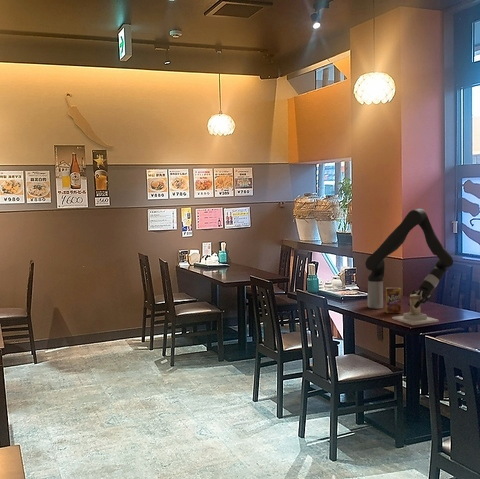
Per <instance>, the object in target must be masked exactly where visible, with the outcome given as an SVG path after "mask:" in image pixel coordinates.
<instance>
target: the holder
mask: <svg viewBox="0 0 480 479" xmlns="http://www.w3.org/2000/svg"><path fill="white" fill-rule="evenodd" d="M391 319H392V320H394V321H398V322H400V323H405V324H407V325H411V326H418V325H425V324H432V323H439V319H437V318H433V317H430V316H428V315H427V314H426V313H422V312H421V315H417V316H413V315H410V312H404V313H403V315H398V316H397V315H396V316H392V317H391Z"/></svg>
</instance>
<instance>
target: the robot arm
mask: <svg viewBox="0 0 480 479" xmlns="http://www.w3.org/2000/svg"><path fill="white" fill-rule="evenodd" d="M403 218H404V219H403V220H402V221H401V222H400V224H399V225H398V226H396V228H395V229H394V230H392V232H391V233H390V234H389V235H388V236H387V237H386V239H385V240H383V242H382V243H381V244H380V245H379V246H378V248H377V249H376V250H375V251H374V252H373V253H372V254H370V255H369V256H368V257H367V258H366V260H365V264H364V265H365V267H366V269H367V270H368V271H371V273H370V274H369V275H368V277H367V295H366V296H367V307H368V308H369V309H383V308H384V285H383V284H384V278H385V267H386V266H385V265H386V264H385V259H386V258H387V257H388V256H390V255H391V254H393V253H394V252H396V251H398V249H399V248H400V247H401V246H402V245H403V244H404V242H405V241H406V240H407V237H408V234H409V233H410V232H411V231H412V230H413V229H414V228H415V227H416V226H419V227H420V228H421V231H422V233H423V235H424V238H425V242H426V245H427V247H428V249H429V250H430V252H431V253H432V254H433V256H436V257H437V258H438V260H437V262H436V264H435V265H434V267H433V268H432V269H431V271H430V272H429V273H428V275H426V277H425V278H424V279H423V281H422V282H421V283H420V284H419V285H418V286H419V288H418V289H417V290H415V289H414V290H412V292H411V293H410V295H414V294H416V295H421V296H420V298H419V300H418V301H417V302H416V304H415V305H414V307H415V308H418V307H419V305H420V304H421V305H422V304H425V303H426V302H428V300H429V299H431V298H432V295H431V294H432V293H433V291H434V290H435V289H436V287H437V286H438V285H439V282H440V281H441V279H443V276H444V274H445V272H446V271H447V270H448V269H449V268H451V267H452V266H453V264H454V260H453V257H452V255H451V254H450V253H449V252H448V250H446V249H445V248H444V246H443V244H442V243H441V241H440V239H439V238H438V236H437V234H436V233H435V231H434V228H433V226H432V223H431V221H430V218H429V217H428V215H427V212H426V211H425V210H424V209H423V208H415V209H411V210H410V211H409V212H408V213H407V214H406V216H405V217H403ZM408 307H410V301H409V302H408Z"/></svg>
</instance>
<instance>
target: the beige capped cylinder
mask: <svg viewBox="0 0 480 479" xmlns="http://www.w3.org/2000/svg"><path fill="white" fill-rule="evenodd" d="M420 296H421V295H416V294H414V295H411V294H410V295H409V302H410V306H409V313H410V315H413V316H417V315H421V313H422V312H421V311H422V309H421V305H422V304H420V305H419V307H418V308H415V307H414V305H415V304H416V302H417V301H418V300H419V298H420Z"/></svg>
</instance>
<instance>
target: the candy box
mask: <svg viewBox="0 0 480 479" xmlns="http://www.w3.org/2000/svg"><path fill="white" fill-rule="evenodd" d="M401 299H402V288H401V287H385V309H384V310H385V314H386V313H387V314H389V313H390V314H401V313H402V312H401V311H402V306H401V305H402V300H401Z"/></svg>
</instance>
